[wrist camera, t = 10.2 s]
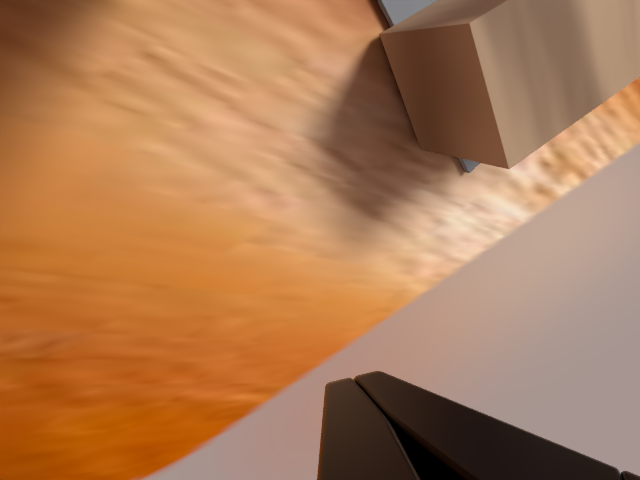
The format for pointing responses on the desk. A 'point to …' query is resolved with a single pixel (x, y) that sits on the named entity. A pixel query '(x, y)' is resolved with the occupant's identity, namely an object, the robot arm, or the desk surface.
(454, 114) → the tan wooden block
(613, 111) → the desk surface
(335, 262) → the desk surface
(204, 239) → the desk surface
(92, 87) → the desk surface
